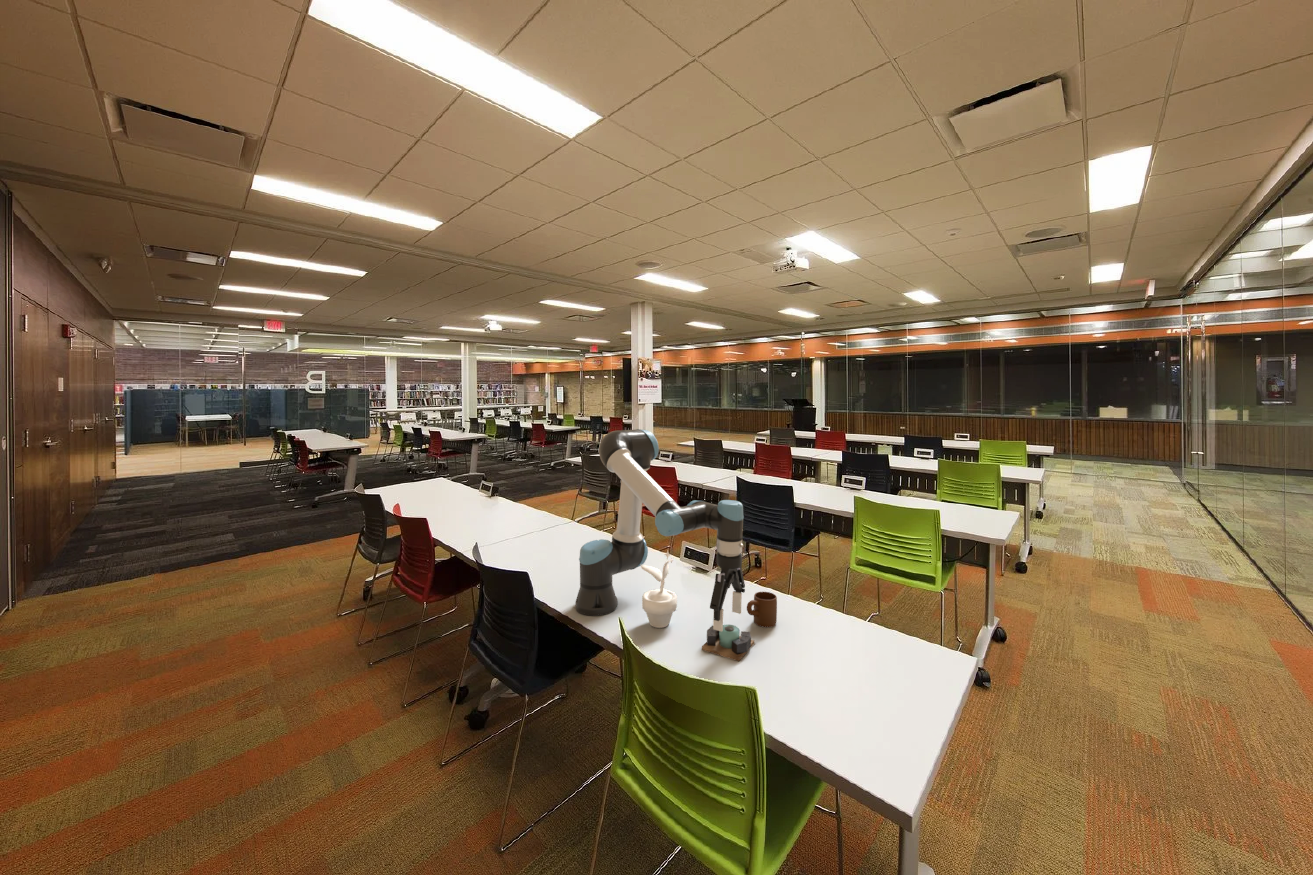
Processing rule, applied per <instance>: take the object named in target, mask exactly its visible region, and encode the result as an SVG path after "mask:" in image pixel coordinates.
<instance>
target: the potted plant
mask: <svg viewBox="0 0 1313 875" xmlns="http://www.w3.org/2000/svg"><path fill="white" fill-rule="evenodd" d="M663 555H664V556H665V557H666V561H665V563H664V565H663V567H662V571H661V570H660V569H659V568H657V567H654V566H651V565H645V564H643V565H640V566H639V567H640V568H641V569H642V570H643V571H645V572H647V573H649V574H650V575H651V576H652V577H653V578H654V579H655V580H656V581H658V582H660V588H657V589H656V588H655V589H651V590H650V589H649V590H648V591H646V592H643V594H642V598H641V602H642V603H641V604H642V605H641V606H642V610H643V611H644V612H645V613H646V616H647V620H648V622H649V624H650V626H651V627H653V628H657V629H661V628H662V629H663V628H666V627H667V626H669V625H670V622H671V619H672V616H673V613H674V612H675V611H677V607H678V595H677V594H676V592H674V591H672V590H669V589H666V588H664V587H665V583H666V582H665V579H666V578H667V576H668V575H669V570H670V568H669V563H671V564H672V563H673V562H674V558H671V559H670V560H668V559H669V557H670V556H671V553H669V549H667V551H666V553H664V554H663Z"/></svg>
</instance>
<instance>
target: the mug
mask: <svg viewBox="0 0 1313 875" xmlns="http://www.w3.org/2000/svg"><path fill="white" fill-rule="evenodd" d="M752 608H753V609H752ZM746 611H747V613H748V614H749V615H750V616H753V622H754V624H755V625H756V626H758V627H762V628H773V627H775V626H776V625H777V621H778V620H777V618H778V617H777V616H778V597H777V595H776V594H774V593H772V592H769V591H758V592H755V593H754V595H753V599H752V600H749V602H748V603H747V604H746Z"/></svg>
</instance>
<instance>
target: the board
mask: <svg viewBox="0 0 1313 875" xmlns="http://www.w3.org/2000/svg"><path fill="white" fill-rule="evenodd" d="M740 638H741V635H739V639H740ZM755 642H756V641H755V639H751V647H750V648H749V650H750V649H751V648H752V647H753V646H754V645H755ZM701 650H702V651H705V652H708V653H711V654H715V655H718V656H721V657H724V658H727V659H730V660H734V661H737V662H740V661H742V660H741V659H743V657H745V655H746V654H747V653H748V652H749V650H748V651H747V652H745V653H741V654H738V655H737V654H735V653H734V652H733V651H732V649H728V648H724V647H722V646H721V645H720V644H719V638H718V639H717V640H716V646H707V641H706V642H705V643H704V644H703V645H701Z"/></svg>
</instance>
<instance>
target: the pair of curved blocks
mask: <svg viewBox="0 0 1313 875" xmlns="http://www.w3.org/2000/svg"><path fill="white" fill-rule="evenodd" d="M740 636H741V638H740V639H737V640H733V641H732V651H733V652H734V653H735V654H737V655H738V654H741V653H745V652H747V651H748V652H749V651H750V649H751V648H752V647H751V640H752V636H751V632H750V631H744V630H743V631H741V632H740ZM718 638H719V631H718V630H714V629H713V625H711V626H710V627H709V628H708V629H707V630H706V642H707V646H716V640H717V639H718ZM750 647H751V648H750ZM749 648H750V649H749ZM748 652H747V653H748Z"/></svg>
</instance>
